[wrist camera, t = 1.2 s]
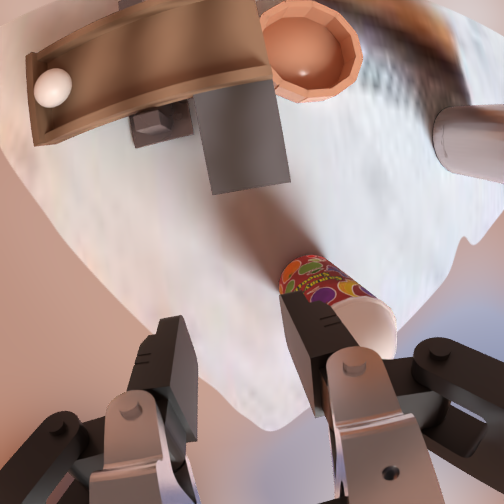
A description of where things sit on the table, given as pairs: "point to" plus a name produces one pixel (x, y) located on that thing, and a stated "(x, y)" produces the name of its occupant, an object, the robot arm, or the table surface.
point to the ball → (52, 87)
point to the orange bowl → (310, 50)
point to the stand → (159, 116)
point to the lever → (173, 82)
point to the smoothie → (344, 302)
